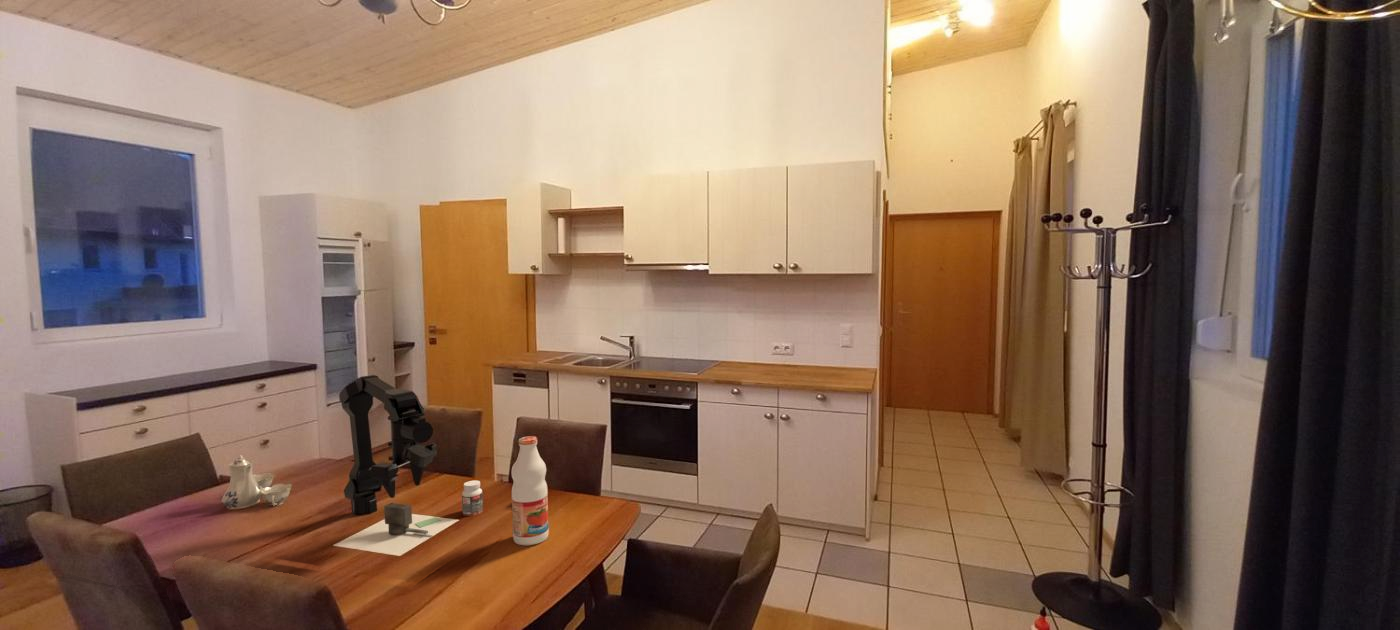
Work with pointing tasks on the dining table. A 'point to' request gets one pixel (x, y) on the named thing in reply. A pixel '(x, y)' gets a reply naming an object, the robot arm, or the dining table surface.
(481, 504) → the pill bottle
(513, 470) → the fruit juice
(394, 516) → the dark grey angled piece
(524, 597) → the dining table surface
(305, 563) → the dining table surface
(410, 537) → the dial plate
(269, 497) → the chinaware
